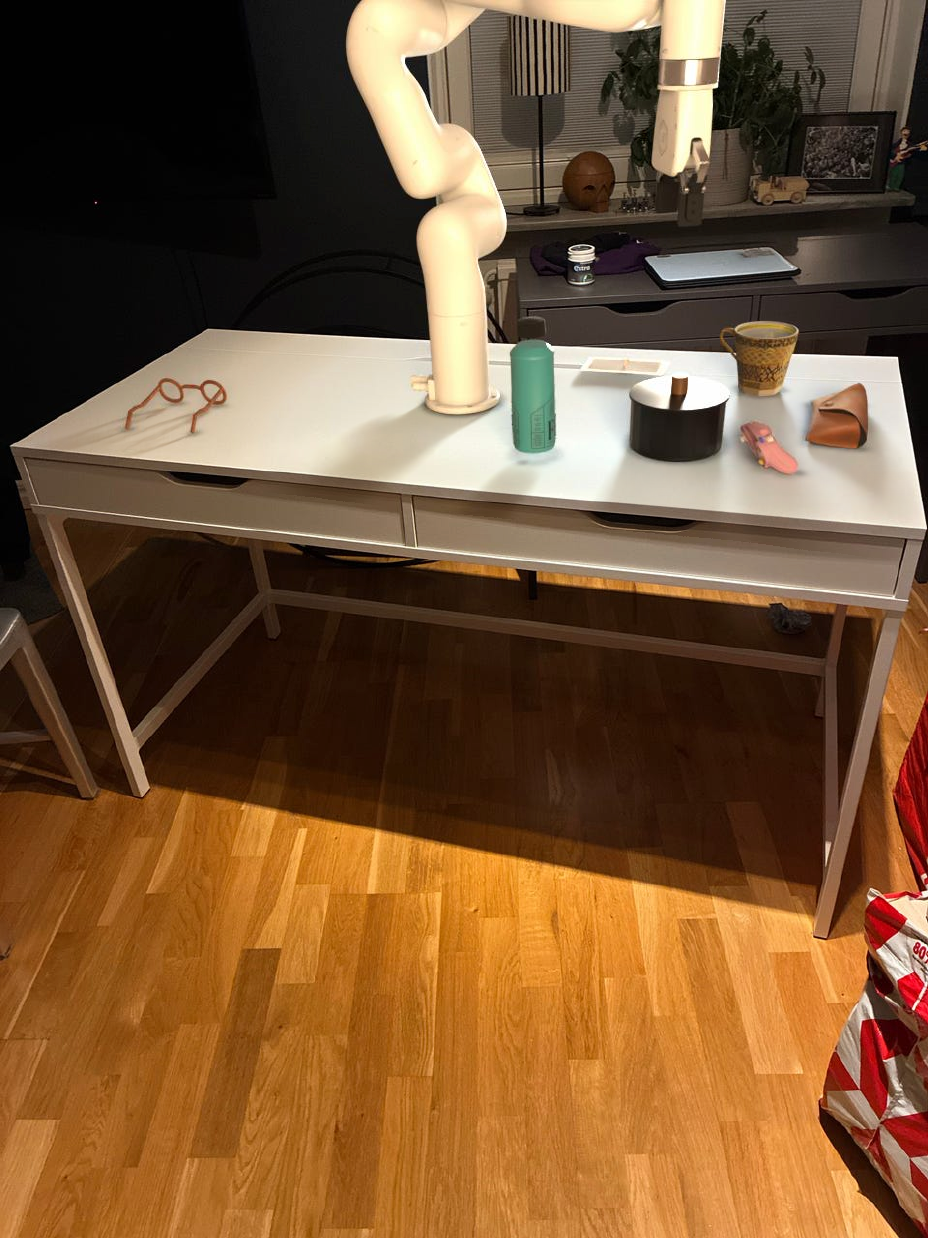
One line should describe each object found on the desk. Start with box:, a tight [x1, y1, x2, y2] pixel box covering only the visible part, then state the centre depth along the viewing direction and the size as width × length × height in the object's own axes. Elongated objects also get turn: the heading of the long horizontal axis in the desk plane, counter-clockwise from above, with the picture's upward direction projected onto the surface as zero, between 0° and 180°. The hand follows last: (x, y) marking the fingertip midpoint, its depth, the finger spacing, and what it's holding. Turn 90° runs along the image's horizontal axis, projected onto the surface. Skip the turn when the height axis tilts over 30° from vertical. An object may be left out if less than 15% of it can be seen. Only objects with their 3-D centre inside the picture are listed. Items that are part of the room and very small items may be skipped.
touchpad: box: [579, 356, 672, 376], centre depth 168 cm, size 8×15×2 cm, turn 70°
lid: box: [628, 372, 731, 413], centre depth 135 cm, size 14×14×4 cm
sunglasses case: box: [805, 382, 869, 450], centre depth 142 cm, size 18×7×7 cm
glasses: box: [124, 377, 228, 434], centre depth 160 cm, size 13×13×5 cm
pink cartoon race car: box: [739, 418, 799, 475], centre depth 131 cm, size 10×5×7 cm, turn 5°
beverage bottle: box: [509, 316, 557, 454], centre depth 134 cm, size 6×7×20 cm
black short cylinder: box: [629, 400, 727, 463], centre depth 138 cm, size 13×13×8 cm
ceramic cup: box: [719, 320, 800, 397], centre depth 155 cm, size 13×10×10 cm
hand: (677, 218), depth 129 cm, fingers open, 9 cm apart
